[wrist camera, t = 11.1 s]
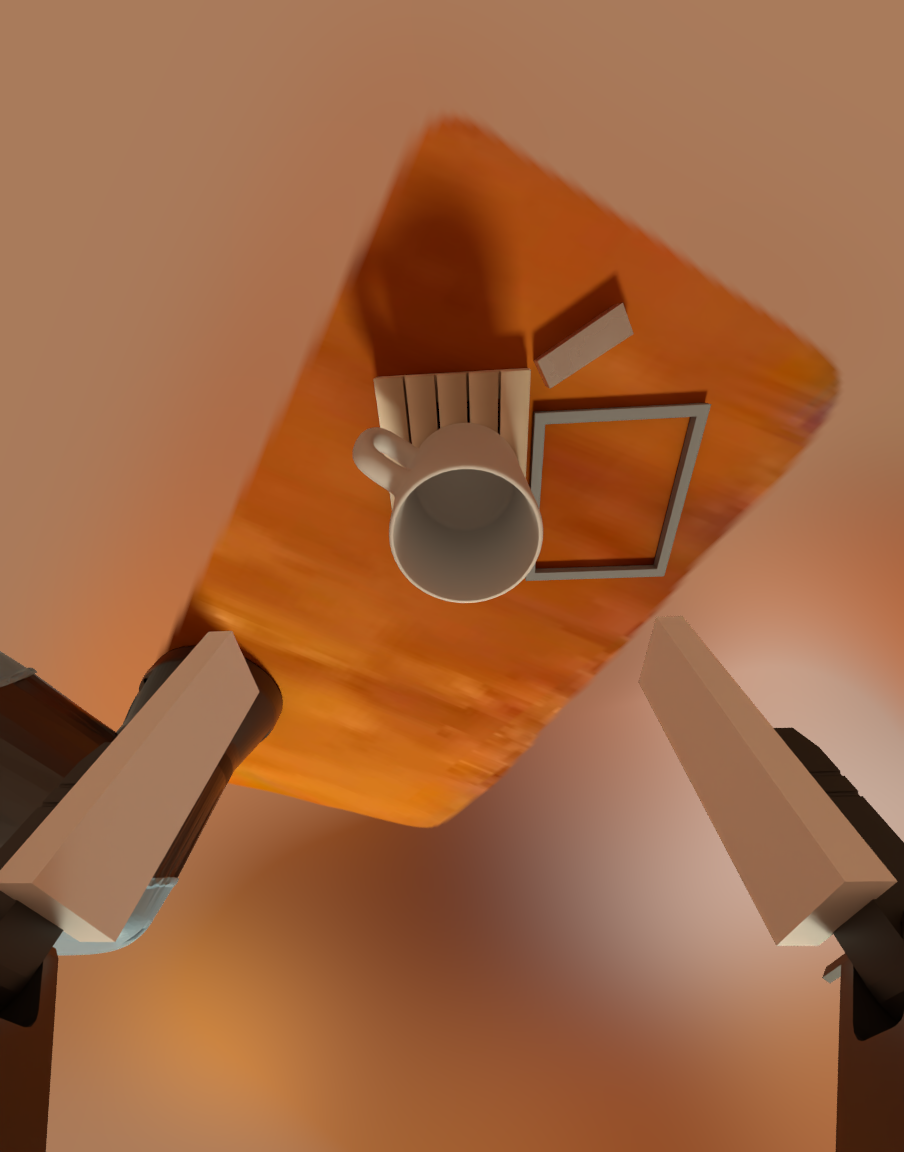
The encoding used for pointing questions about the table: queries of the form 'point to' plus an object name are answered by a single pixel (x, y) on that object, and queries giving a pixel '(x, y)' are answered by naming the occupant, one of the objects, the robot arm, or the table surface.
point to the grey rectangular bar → (584, 345)
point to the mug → (456, 510)
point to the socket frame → (678, 494)
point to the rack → (456, 405)
